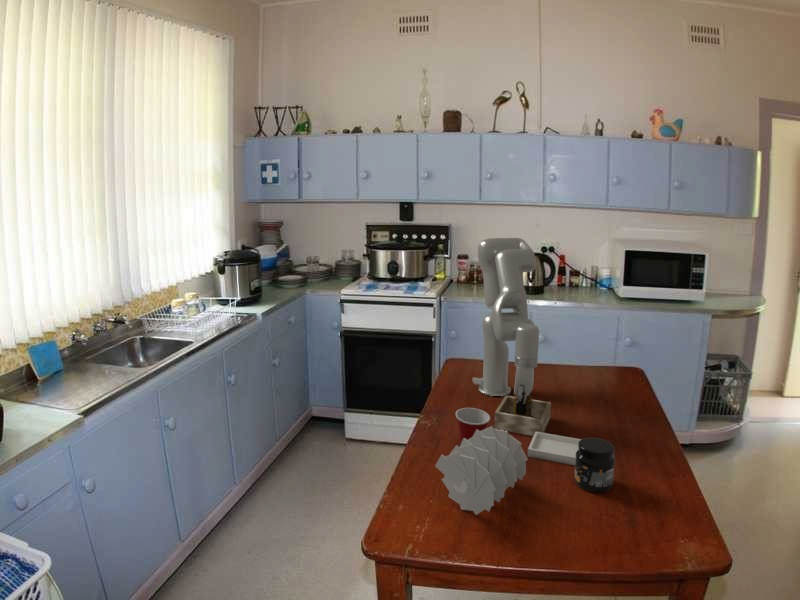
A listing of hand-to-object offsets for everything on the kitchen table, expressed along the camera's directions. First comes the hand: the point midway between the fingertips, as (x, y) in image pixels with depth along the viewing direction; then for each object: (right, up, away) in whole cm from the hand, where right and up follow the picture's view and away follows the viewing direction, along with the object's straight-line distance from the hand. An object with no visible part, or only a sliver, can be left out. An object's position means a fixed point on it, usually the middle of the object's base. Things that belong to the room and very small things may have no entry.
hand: (523, 408), depth 201 cm
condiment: (0, -6, +2) cm, 6 cm away
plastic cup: (-20, -10, -17) cm, 28 cm away
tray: (+8, -10, -18) cm, 22 cm away
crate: (0, -5, +2) cm, 6 cm away
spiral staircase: (-20, -16, -42) cm, 49 cm away
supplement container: (+12, -15, -36) cm, 41 cm away
